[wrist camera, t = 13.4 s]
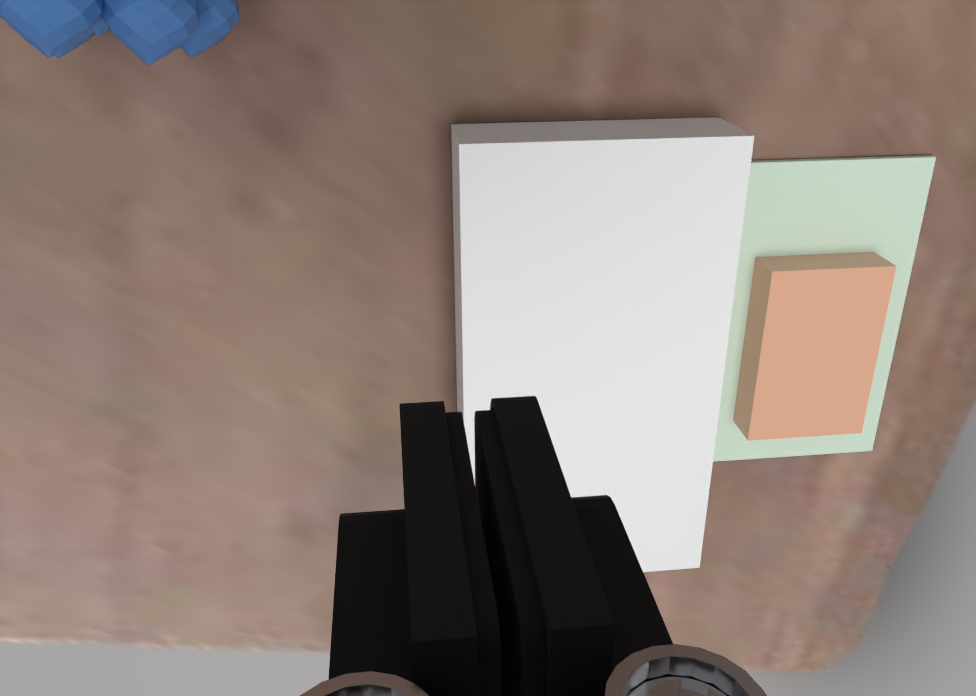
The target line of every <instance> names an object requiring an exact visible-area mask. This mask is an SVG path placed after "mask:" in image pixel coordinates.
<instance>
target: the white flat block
mask: <svg viewBox="0 0 976 696" xmlns="http://www.w3.org/2000/svg"><path fill="white" fill-rule="evenodd" d="M451 140H452V187H453V234H454V281H455V328H456V376H457V412H462V416H463V421H464V427H465V433H466V438H467V444H468V449H469V455H470V461H471V466H472V472H473V478H474V483H475V435H474V416H475V411H482V410H490V403H491V399H492V398H507V397H524V396H536V398H537V400H538V403H539V406H540V408H541V411H542V414H543V417H544V420H545V423H546V426H547V429H548V432H549V435H550V437H551V440H552V443H553V446H554V449H555V452H556V455H557V458H558V461H559V463H560V466H561V469H562V472H563V475H564V478H565V481H566V484H567V487H568V489H569V492H570V495H571V497H585V496H599V495H608V496H609V497H611V499H612V501H613V502H614V504H615V506H616V509H617V511H618V513H619V516H620V518H621V521H622V523H623V525H624V528H625V530H626V533H627V535H628V537H629V540H630V542H631V545H632V547H633V549H634V552H635V554H636V557H637V559H638V561H639V564H640V566H641V569H642V571H643V572H650V571H662V570H675V569H687V568H699V567H700V559H701V551H702V543H703V535H704V528H705V520H706V512H707V504H708V496H709V488H710V480H711V473H712V465H713V457H714V449H715V441H716V433H717V425H718V417H719V410H720V402H721V394H722V386H723V378H724V370H725V362H726V355H727V347H728V339H729V331H730V323H731V315H732V307H733V299H734V292H735V284H736V276H737V268H738V260H739V252H740V244H741V237H742V229H743V221H744V213H745V205H746V197H747V189H748V182H749V174H750V166H751V158H752V150H753V142H754V135H752V134H750V133H748V132H746V131H744V130H742V129H741V128H739V127H737V126H735V125H733V124H731V123H729V122H727V121H725V120H724V119H722V118H720V117H711V118H673V119H634V120H595V121H557V122H518V123H480V124H451Z"/></svg>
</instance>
